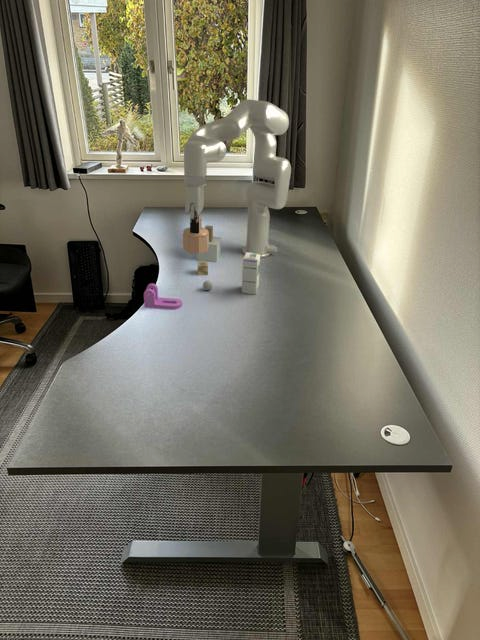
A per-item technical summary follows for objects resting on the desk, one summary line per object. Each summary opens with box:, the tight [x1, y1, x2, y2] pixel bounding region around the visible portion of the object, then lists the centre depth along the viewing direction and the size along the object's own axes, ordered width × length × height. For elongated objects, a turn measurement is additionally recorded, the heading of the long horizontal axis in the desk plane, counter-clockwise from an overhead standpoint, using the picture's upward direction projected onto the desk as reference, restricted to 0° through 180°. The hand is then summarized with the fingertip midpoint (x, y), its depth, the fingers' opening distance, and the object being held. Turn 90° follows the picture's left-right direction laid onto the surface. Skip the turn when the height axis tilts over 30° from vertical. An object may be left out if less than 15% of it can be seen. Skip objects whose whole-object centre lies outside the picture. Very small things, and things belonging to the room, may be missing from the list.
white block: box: [196, 224, 222, 263], centre depth 209 cm, size 9×9×14 cm
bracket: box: [143, 282, 183, 310], centre depth 174 cm, size 13×6×7 cm, turn 86°
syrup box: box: [241, 252, 261, 295], centre depth 184 cm, size 6×6×14 cm
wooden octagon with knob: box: [182, 213, 209, 255], centre depth 175 cm, size 9×9×13 cm
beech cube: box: [197, 261, 209, 276], centre depth 198 cm, size 4×4×4 cm
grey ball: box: [202, 280, 213, 291], centre depth 186 cm, size 4×4×4 cm
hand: (195, 230), depth 175 cm, fingers closed on wooden octagon with knob, 3 cm apart
